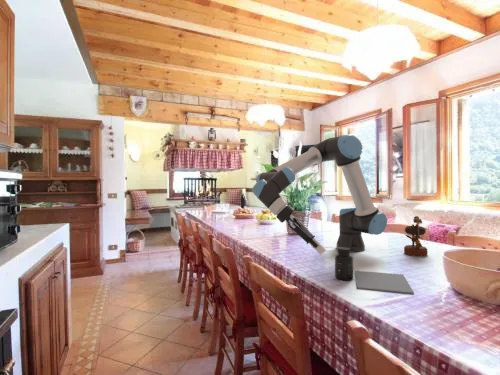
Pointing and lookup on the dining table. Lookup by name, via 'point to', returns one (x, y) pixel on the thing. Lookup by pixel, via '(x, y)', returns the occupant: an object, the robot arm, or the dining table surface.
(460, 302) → the dining table surface
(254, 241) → the dining table surface
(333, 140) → the robot arm
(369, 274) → the mat
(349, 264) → the supplement bottle
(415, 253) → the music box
